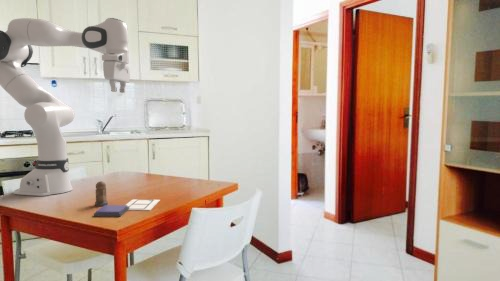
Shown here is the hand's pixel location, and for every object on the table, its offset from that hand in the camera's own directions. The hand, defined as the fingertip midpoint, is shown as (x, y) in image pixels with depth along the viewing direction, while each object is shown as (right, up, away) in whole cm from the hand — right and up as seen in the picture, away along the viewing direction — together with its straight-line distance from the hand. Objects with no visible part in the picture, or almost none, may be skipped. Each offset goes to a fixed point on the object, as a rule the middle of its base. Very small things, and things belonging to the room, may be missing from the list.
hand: (118, 92), depth 149 cm
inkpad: (+7, -46, -24) cm, 52 cm away
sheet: (+14, -45, -14) cm, 49 cm away
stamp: (-1, -45, -14) cm, 47 cm away
